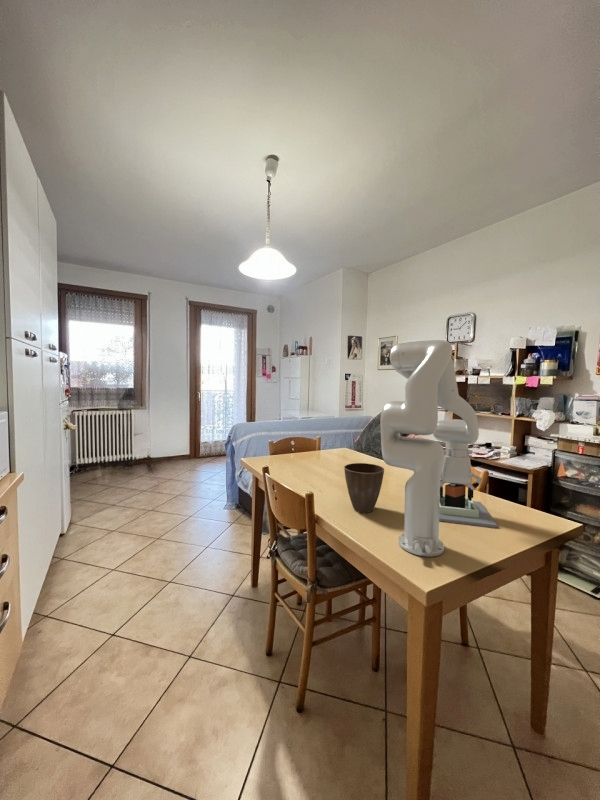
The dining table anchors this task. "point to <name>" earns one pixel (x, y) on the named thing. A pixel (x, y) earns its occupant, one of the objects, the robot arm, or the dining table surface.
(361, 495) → the plant pot
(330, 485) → the dining table surface
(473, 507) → the slot tray
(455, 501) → the battery
